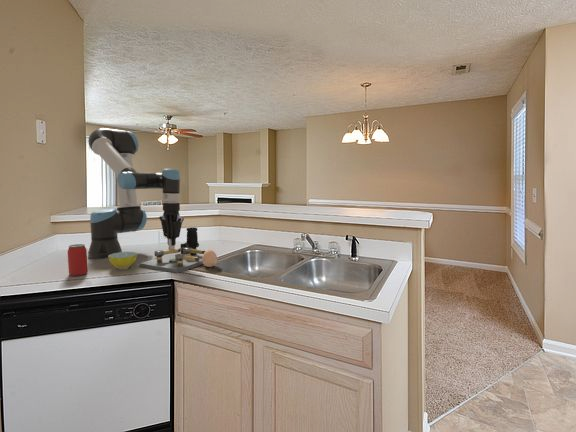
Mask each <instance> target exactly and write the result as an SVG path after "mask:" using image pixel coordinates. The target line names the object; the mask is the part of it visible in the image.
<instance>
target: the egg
mask: <svg viewBox="0 0 576 432" xmlns="http://www.w3.org/2000/svg"><path fill="white" fill-rule="evenodd" d="M204 251H205V253H204V254H202V257H201V259H202V262H203V264H202V265H204V266H205V267H206V268H207V267H208V268H212V267H214V266H215V265H216V264H217V262H218V255H217V253H216V252H215V251H214V250H212V249H208V250H204Z"/></svg>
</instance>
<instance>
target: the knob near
mask: <svg viewBox="0 0 576 432" xmlns="http://www.w3.org/2000/svg"><path fill="white" fill-rule="evenodd" d="M180 253H181V250H180V248H175V249H172V250H169V249H167V250H166V249H165V250H162V249H161V250H160V249H159V250H154V254H153V255H154V257H156V259H157V262H162V257H164V256H167V255H171V254H172V255H174V254H180Z"/></svg>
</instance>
